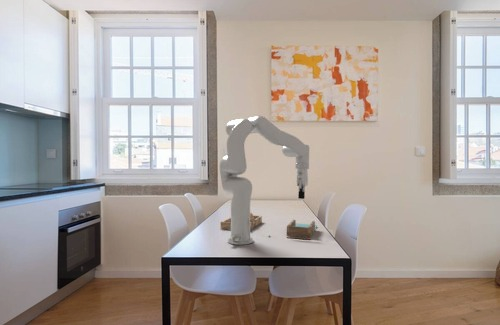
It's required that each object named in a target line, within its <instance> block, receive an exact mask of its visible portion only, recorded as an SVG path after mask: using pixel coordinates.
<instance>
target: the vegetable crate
mask: <svg viewBox="0 0 500 325" xmlns="http://www.w3.org/2000/svg"><path fill="white" fill-rule="evenodd" d="M253 216H254V220H253V221H251V222H250V231H251V230H252V229H254V228H255V227H257V226H259V225H261V223H262V221H263V216H262V215H253ZM220 229H221V230H227V229H228V231H231V216H230V217H228V218H226V219H224V220H222V221H220Z"/></svg>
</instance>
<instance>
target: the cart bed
mask: <svg viewBox="0 0 500 325" xmlns="http://www.w3.org/2000/svg"><path fill="white" fill-rule="evenodd" d="M296 221H297V220H296V219H292V220H291V222H289V223H288V224H287V226H286V239H291V240H303V241H311V238H312V236H313V234H314V233H315V231H316V229H315V225H316V221H315V220H312V221H311V223H309V224H310V226H309V227H298V226H296Z"/></svg>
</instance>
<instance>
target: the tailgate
mask: <svg viewBox="0 0 500 325" xmlns="http://www.w3.org/2000/svg"><path fill="white" fill-rule="evenodd" d="M310 224H311V223H309V224H308V223H307V224H306V223H296V226H298V227H309V226H310ZM317 227H318V226H317V224H315V230H316V229H317Z"/></svg>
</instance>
